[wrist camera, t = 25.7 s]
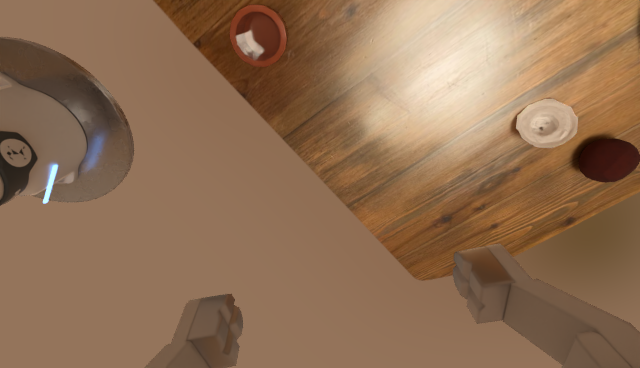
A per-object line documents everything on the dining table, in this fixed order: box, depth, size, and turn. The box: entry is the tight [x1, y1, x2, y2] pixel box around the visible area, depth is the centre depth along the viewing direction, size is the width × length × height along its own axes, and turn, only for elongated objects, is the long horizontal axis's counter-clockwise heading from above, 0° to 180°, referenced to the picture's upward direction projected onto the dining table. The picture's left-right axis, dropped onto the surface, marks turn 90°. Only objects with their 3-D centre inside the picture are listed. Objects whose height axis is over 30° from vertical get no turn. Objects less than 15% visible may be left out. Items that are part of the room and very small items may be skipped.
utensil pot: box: [230, 5, 288, 67], centre depth 38 cm, size 7×7×7 cm
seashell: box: [516, 99, 578, 148], centre depth 48 cm, size 8×5×8 cm
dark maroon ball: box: [579, 139, 640, 182], centre depth 51 cm, size 7×8×7 cm
